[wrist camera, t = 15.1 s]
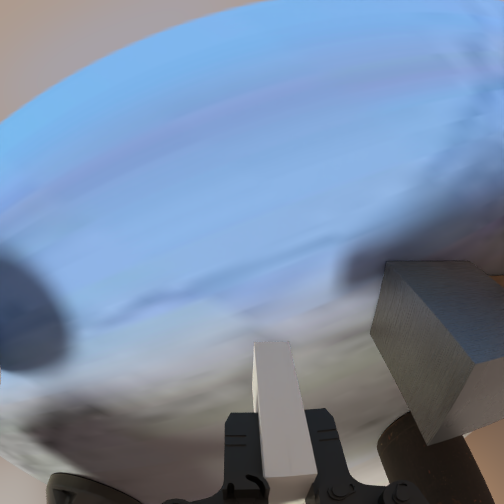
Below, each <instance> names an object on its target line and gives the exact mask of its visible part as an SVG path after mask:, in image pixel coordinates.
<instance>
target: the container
mask: <svg viewBox="0 0 504 504" xmlns="http://www.w3.org/2000/svg"><path fill="white" fill-rule="evenodd" d="M377 450H378V453H379V456H380V459H381V462H382V465H383V467H384V470H385V472H386V475H387V478H388V480H389V483H390V484H391V483H392V482H394V481H398V480H407V481H410V482H412V483H414V484H415V485H416V486H417V487H418V488H419V490H420V491H421V493H422V494H423V495H424V497H425V498H426V499H427V501H428V502H429V503H430V504H495V503H494V500H493V498H492V496H491V493H490V491H489V489H488V487H487V485H486V482H485V480H484V478H483V476H482V474H481V472H480V470H479V467H478V465H477V463H476V461H475V459H474V457H473V455H472V453H471V451H470V449H469V447H468V445H467V443H466V441H465V440H464V438H463V436H462V435H460V436H457V437H454V438H451V439H448V440H445V441H442V442H439V443H435V444H432V445H429V446H427V444H426V442H425V440H424V438H423V436H422V434H421V432H420V430H419V428H418V425H417V423H416V421H415V419H414V417H413V415H412V413H411V412H409V413H408V414H406V415H404V416H403V417H401V418H400V419H398V420H397V421H395V422H394V423H393V424H392V425H391V426H389V427H388V428H387V429H386V430H385V431H384V433H383V434H382V435H381V437H380V439H379V441H378V444H377Z"/></svg>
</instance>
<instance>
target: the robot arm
mask: <svg viewBox="0 0 504 504" xmlns="http://www.w3.org/2000/svg"><path fill="white" fill-rule="evenodd" d="M252 391H253V407H254V413H230V415H229V417H228V419H227V421H226V422H225V454H224V483H223V486H222V488H221V489H220V490H219V492H218V493H216V494H215V495H213V496H212V497H209V498H206V499H202V500H198V501H193V502H188V501H186V500H183V499H171V500H167V501H165V502H163V503H162V504H304V503H305V502H306V504H430V503H429V502H428V501H427V499H426V498H425V497H424V495H423V494H422V493H421V491H420V490H419V488H418V487H417V486H416V485H415V484H414V483H412V482H410V481H407V480H398V481H394V482H392V483H391V484H389V485H388V486H373V485H365V484H362V483H360V482H358V481H356V480H355V479H354V478H353V477H352V476H351V475H350V473H349V470H348V467H347V464H346V460H345V457H344V453H343V449H342V446H341V442H340V440H339V435H338V432H337V430H336V425H335V422H334V418H333V417H332V416H331V414H330V413H329V412H328V411H327V410H326V409H325V408H322V409H310V410H304V407H303V402H302V398H301V393H300V388H299V384H298V379H297V375H296V370H295V366H294V361H293V357H292V352H291V348H290V343H289V341H287V342H254V358H253V380H252ZM46 497H47V504H141V503H140V502H138V501H136V500H135V499H133V498H131V497H129V496H127V495H125V494H123V493H121V492H119V491H117V490H114V489H112V488H110V487H107V486H105V485H102V484H99V483H96V482H94V481H91V480H87V479H84V478H81V477H77V476H73V475H68V474H53V475H51V476H50V479H49V482H48V484H47V488H46Z"/></svg>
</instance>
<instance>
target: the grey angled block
mask: <svg viewBox="0 0 504 504" xmlns="http://www.w3.org/2000/svg"><path fill="white" fill-rule="evenodd" d="M370 335H371V337H372V338H373V340H374V342H375V344H376V346H377V348H378V349H379V351H380V353H381V355H382V357H383V359H384V361H385V363H386V364H387V366H388V368H389V370H390V372H391V374H392V376H393V378H394V380H395V382H396V384H397V385H398V387H399V389H400V391H401V393H402V395H403V397H404V399H405V401H406V403H407V405H408V407H409V409H410V411H411V413H412V415H413V417H414V419H415V421H416V423H417V425H418V428H419V430H420V432H421V434H422V436H423V438H424V440H425V442H426V444H427V446H429V445H432V444H435V443H439V442H442V441H445V440H448V439H451V438H454V437H457V436H460V435H463V434H466V433H468V432H471V431H474V430H476V429H479V428H482V427H484V426H487V425H489V424H492V423H494V422H496V421H499V420H501V419H503V418H504V288H503V287H502V286H501V285H499V284H498V283H497V282H496V281H494V280H493V279H492V278H491V277H489V276H488V275H487V274H486V273H484V272H483V271H482V270H480V269H479V268H478V267H477V266H475V265H474V264H473V263H471V262H470V261H386V266H385V271H384V276H383V281H382V285H381V290H380V294H379V299H378V303H377V307H376V311H375V316H374V320H373V323H372V327H371V331H370Z"/></svg>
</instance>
